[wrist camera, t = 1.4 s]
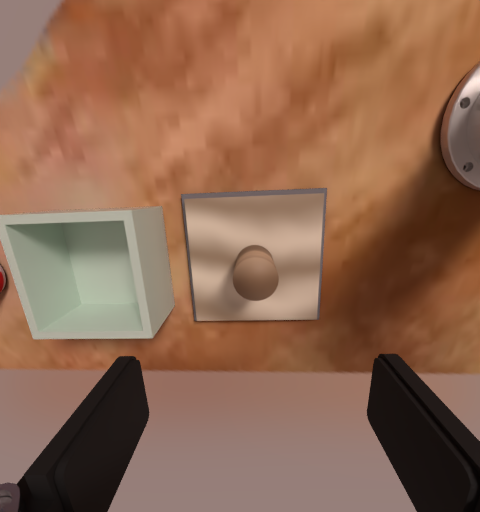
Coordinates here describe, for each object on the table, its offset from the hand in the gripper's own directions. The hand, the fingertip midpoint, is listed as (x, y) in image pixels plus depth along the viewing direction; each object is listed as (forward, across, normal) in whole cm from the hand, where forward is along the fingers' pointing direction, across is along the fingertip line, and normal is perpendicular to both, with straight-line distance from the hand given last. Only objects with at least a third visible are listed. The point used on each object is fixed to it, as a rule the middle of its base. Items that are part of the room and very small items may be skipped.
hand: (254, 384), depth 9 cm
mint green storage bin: (+17, +16, -1) cm, 23 cm away
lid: (+17, 0, 0) cm, 17 cm away
